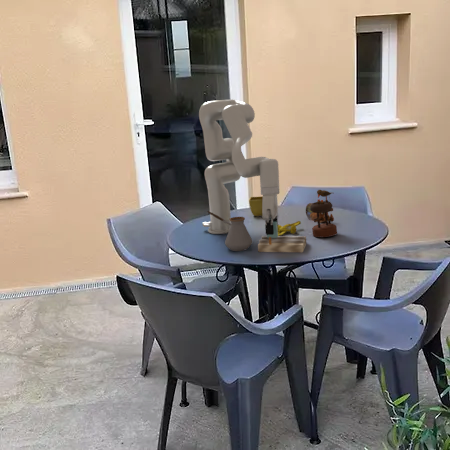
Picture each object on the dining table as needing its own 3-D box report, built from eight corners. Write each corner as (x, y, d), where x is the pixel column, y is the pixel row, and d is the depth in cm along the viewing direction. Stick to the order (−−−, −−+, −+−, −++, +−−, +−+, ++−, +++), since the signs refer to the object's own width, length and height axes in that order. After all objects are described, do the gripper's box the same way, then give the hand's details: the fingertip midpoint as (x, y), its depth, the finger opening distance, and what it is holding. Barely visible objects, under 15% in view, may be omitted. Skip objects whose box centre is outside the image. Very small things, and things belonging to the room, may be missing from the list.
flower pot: (251, 213, 278) (250, 196, 276) (268, 212, 277) (267, 195, 275) (249, 217, 270) (248, 200, 268) (266, 216, 269) (266, 199, 266)
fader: (267, 240, 216) (266, 223, 214) (268, 238, 219) (267, 221, 217) (276, 240, 215) (276, 223, 213) (278, 238, 218) (277, 221, 216)
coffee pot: (258, 246, 221) (256, 211, 217) (243, 254, 212) (240, 218, 208) (217, 240, 233) (214, 207, 230) (201, 248, 225) (198, 213, 221)
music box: (322, 229, 238) (321, 186, 233) (343, 232, 231) (343, 188, 226) (302, 237, 228) (301, 192, 223) (324, 241, 220) (323, 194, 215)
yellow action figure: (278, 216, 250) (305, 219, 240) (280, 224, 251) (306, 227, 241) (253, 231, 237) (279, 235, 227) (254, 239, 238) (281, 243, 228)
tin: (305, 218, 260) (304, 201, 258) (310, 217, 261) (310, 200, 259) (324, 224, 247) (323, 207, 245) (329, 223, 248) (329, 205, 246)
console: (258, 251, 214) (257, 237, 212) (263, 243, 225) (263, 229, 223) (302, 252, 209) (302, 237, 207) (306, 243, 220) (305, 229, 218)
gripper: (264, 185, 221) (266, 225, 225) (256, 194, 205) (258, 237, 209) (282, 185, 219) (284, 225, 223) (275, 194, 203) (277, 237, 207)
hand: (271, 231), depth 216 cm, fingers open, 9 cm apart
